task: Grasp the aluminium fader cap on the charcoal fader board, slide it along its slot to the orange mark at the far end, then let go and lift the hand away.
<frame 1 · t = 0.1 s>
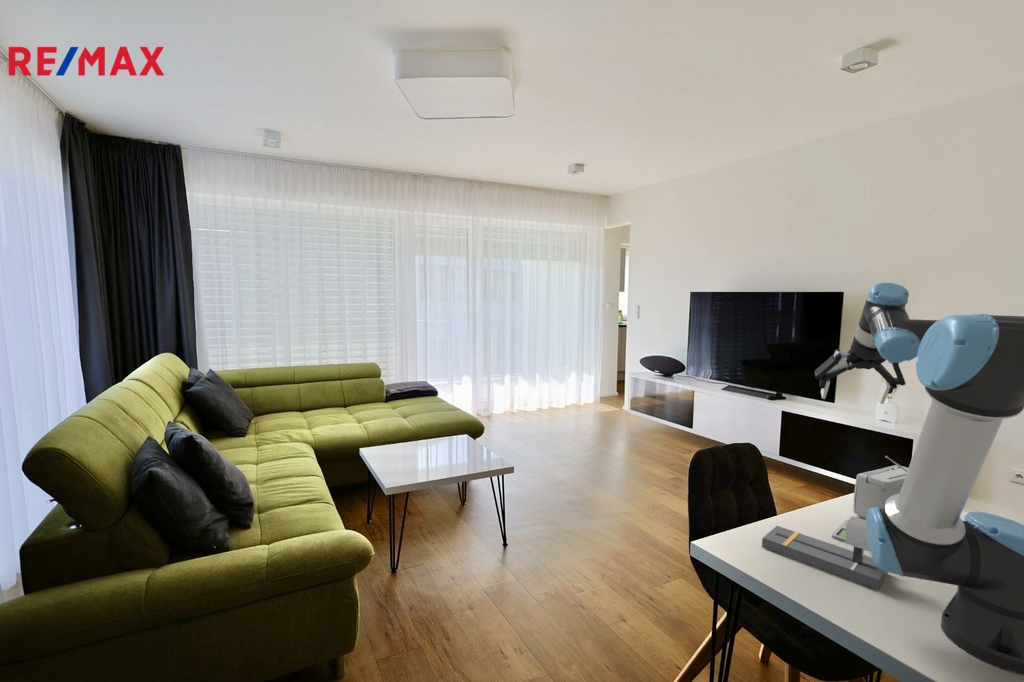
hand: (851, 397, 136), 36 cm above the table, tool tilted 35°, fingers open, 13 cm apart
fader board: (821, 559, 118), on the table
fader cap: (859, 541, 112), point 7 cm above the table, slide at -7.0 cm
handheld gaming console: (860, 538, 131), on the table
stereo radio cassette player: (886, 516, 144), on the table
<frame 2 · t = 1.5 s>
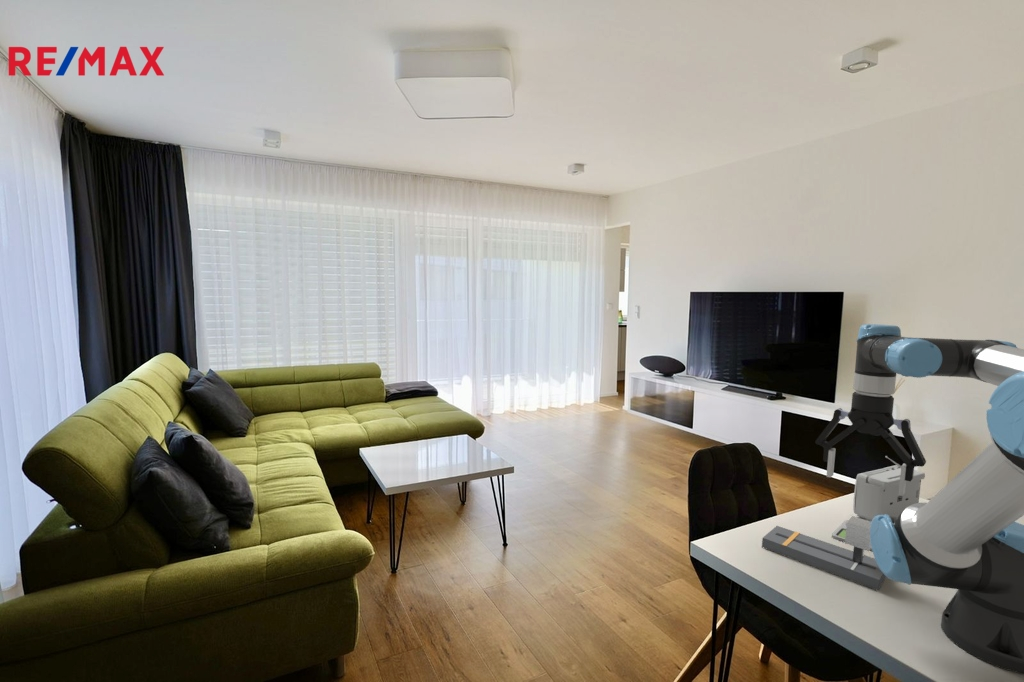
hand: (864, 484, 112), 21 cm above the table, tool pointing down, fingers open, 13 cm apart
nothing on the table moved.
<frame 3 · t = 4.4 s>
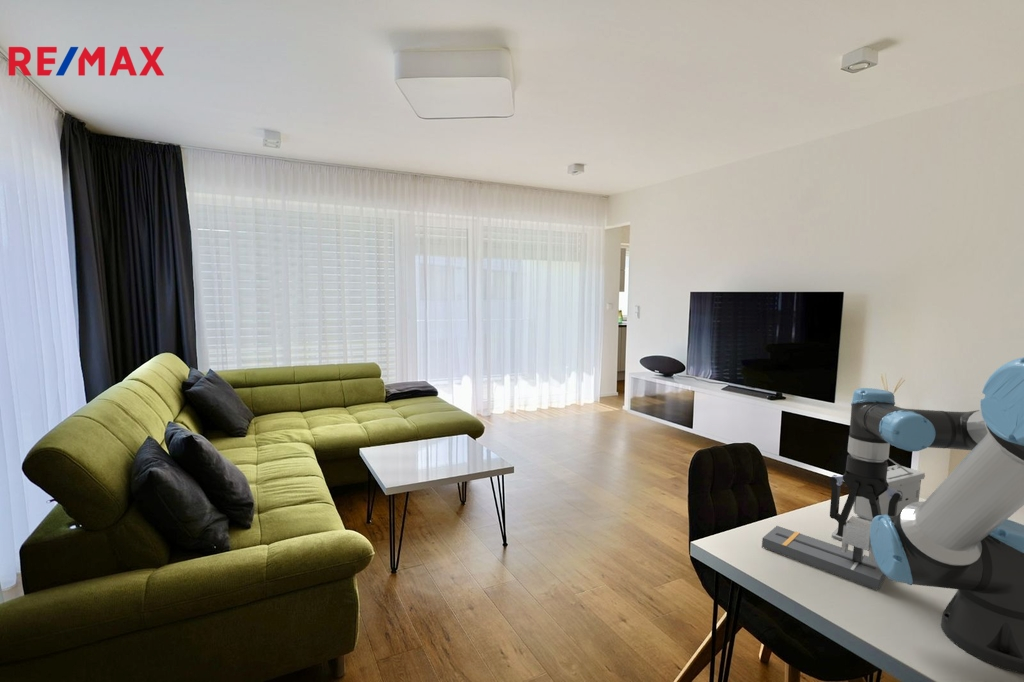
hand: (857, 554, 113), 4 cm above the table, tool pointing down, fingers closed on fader cap, 4 cm apart
fader cap: (859, 541, 112), point 7 cm above the table, slide at -7.0 cm, touching gripper
everything else where it was.
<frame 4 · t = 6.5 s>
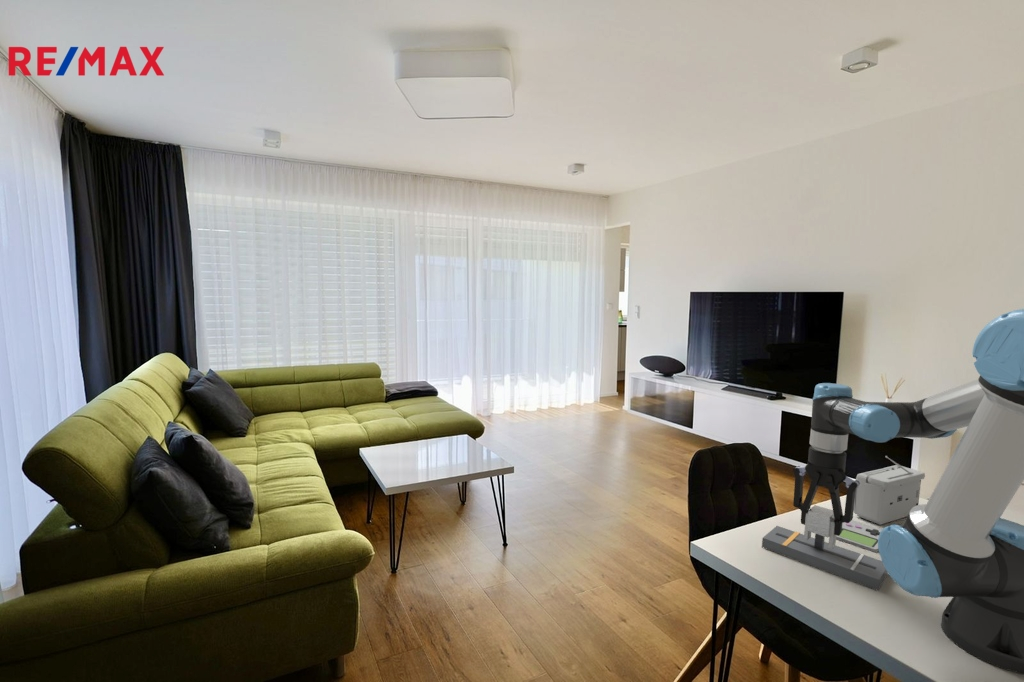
hand: (819, 541, 118), 4 cm above the table, tool pointing down, fingers closed on fader cap, 4 cm apart
fader cap: (820, 529, 118), point 7 cm above the table, slide at 0.9 cm, touching gripper
everything else where it was.
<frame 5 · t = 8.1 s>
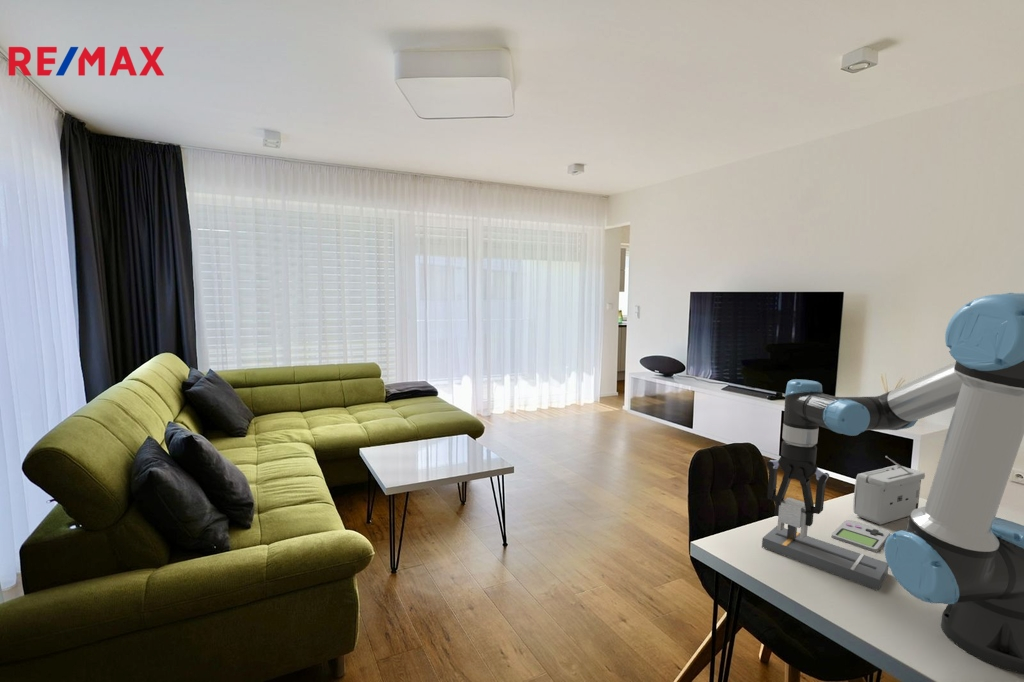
hand: (791, 532, 123), 4 cm above the table, tool pointing down, fingers closed on fader cap, 4 cm apart
fader cap: (792, 520, 122), point 7 cm above the table, slide at 6.9 cm, touching gripper
everything else where it was.
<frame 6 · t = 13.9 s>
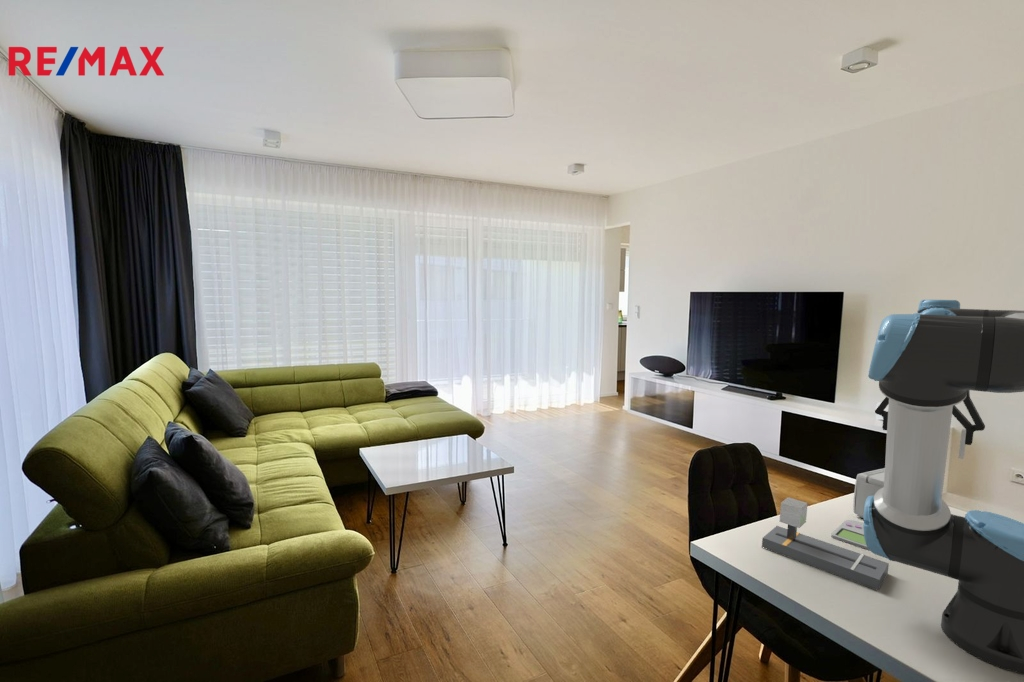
hand: (923, 450, 119), 27 cm above the table, tool pointing down, fingers open, 13 cm apart
fader cap: (792, 520, 123), point 7 cm above the table, slide at 6.9 cm
everything else where it was.
at the end: fader cap slide at 6.9 cm; the gripper is holding nothing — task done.
